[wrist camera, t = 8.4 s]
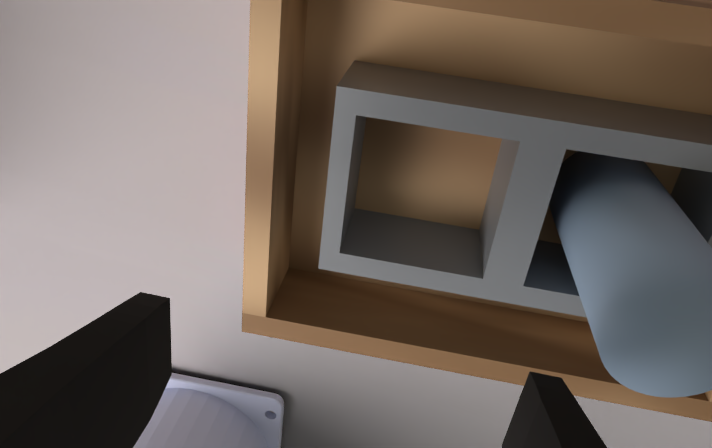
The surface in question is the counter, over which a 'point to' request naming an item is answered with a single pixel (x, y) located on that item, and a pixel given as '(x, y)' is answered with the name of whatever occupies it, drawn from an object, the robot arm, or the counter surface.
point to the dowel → (637, 274)
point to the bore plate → (495, 180)
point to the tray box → (440, 168)
